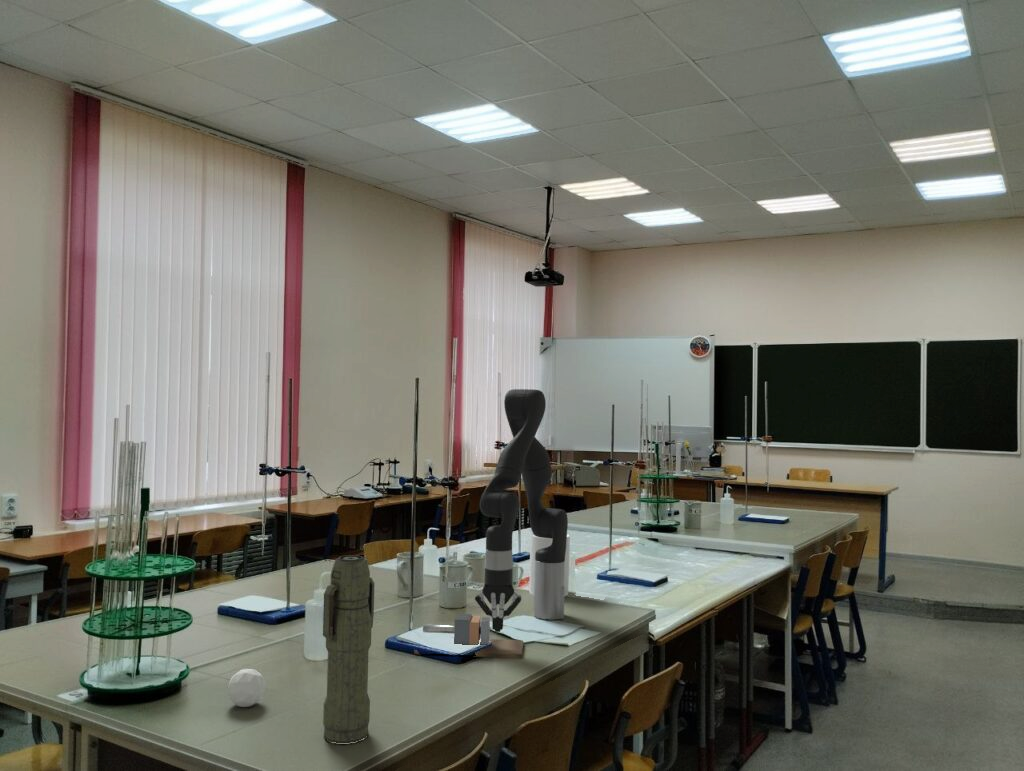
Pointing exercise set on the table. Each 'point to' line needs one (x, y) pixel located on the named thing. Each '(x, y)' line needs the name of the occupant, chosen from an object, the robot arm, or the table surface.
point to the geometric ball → (246, 687)
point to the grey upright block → (462, 629)
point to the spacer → (474, 630)
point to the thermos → (348, 649)
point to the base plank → (500, 649)
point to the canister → (535, 545)
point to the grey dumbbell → (483, 630)
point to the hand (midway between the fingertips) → (497, 631)
